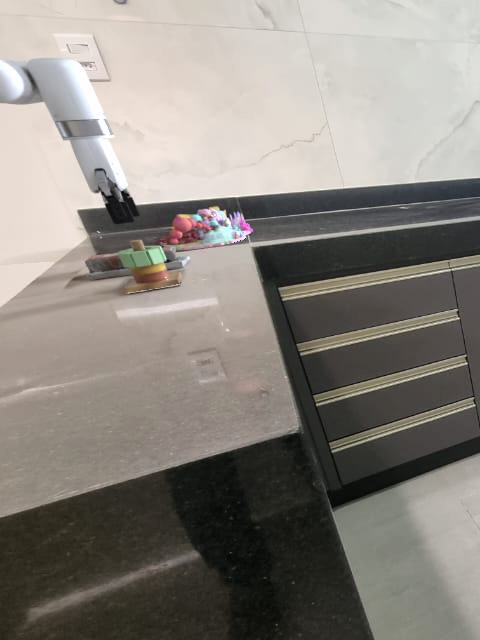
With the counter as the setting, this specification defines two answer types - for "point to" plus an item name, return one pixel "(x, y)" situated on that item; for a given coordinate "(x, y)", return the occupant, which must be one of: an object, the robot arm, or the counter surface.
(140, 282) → the stacking stand
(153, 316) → the counter surface
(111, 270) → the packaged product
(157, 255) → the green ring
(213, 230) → the candy landscape model
